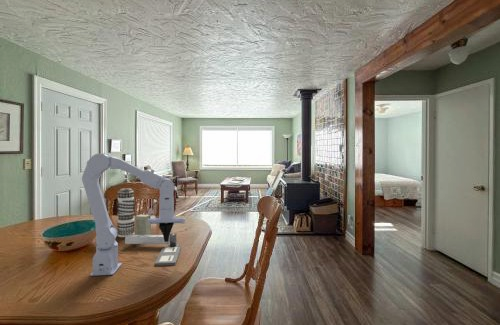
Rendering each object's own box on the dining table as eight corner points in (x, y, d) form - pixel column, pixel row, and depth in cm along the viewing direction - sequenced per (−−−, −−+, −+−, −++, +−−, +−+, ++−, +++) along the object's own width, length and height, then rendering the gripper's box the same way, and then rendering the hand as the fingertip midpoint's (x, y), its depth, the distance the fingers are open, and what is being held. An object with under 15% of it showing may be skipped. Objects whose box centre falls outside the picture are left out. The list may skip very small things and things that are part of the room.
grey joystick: (177, 248, 123) (177, 235, 123) (166, 248, 123) (166, 236, 122) (179, 244, 128) (179, 232, 128) (168, 245, 128) (168, 232, 127)
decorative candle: (138, 232, 148) (138, 187, 147) (129, 237, 138) (129, 190, 138) (123, 231, 149) (122, 187, 148) (113, 237, 139) (112, 189, 138)
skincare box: (151, 238, 138) (151, 214, 138) (146, 240, 134) (145, 216, 134) (141, 236, 140) (140, 213, 140) (135, 239, 136) (135, 215, 135)
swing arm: (125, 243, 124) (125, 236, 124) (128, 241, 127) (128, 234, 127) (167, 244, 124) (167, 236, 124) (169, 242, 127) (169, 234, 127)
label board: (175, 264, 105) (175, 261, 105) (154, 265, 104) (154, 262, 104) (180, 248, 123) (180, 245, 123) (163, 249, 122) (163, 246, 122)
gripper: (185, 205, 113) (185, 237, 113) (150, 206, 111) (150, 238, 111) (183, 209, 106) (183, 242, 106) (146, 210, 104) (146, 244, 104)
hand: (166, 241), depth 108 cm, fingers closed
